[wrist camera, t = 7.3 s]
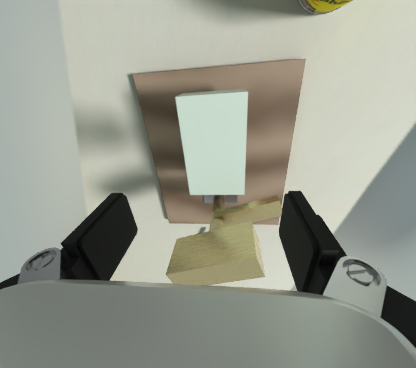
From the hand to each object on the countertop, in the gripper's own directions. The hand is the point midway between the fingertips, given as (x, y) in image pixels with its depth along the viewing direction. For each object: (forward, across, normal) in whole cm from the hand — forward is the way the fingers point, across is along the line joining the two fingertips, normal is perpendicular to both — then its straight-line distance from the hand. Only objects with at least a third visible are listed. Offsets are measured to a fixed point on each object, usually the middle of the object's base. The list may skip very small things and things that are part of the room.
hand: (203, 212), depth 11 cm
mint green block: (+11, 0, -1) cm, 11 cm away
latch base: (+15, 0, +3) cm, 16 cm away
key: (+14, -2, +7) cm, 15 cm away
